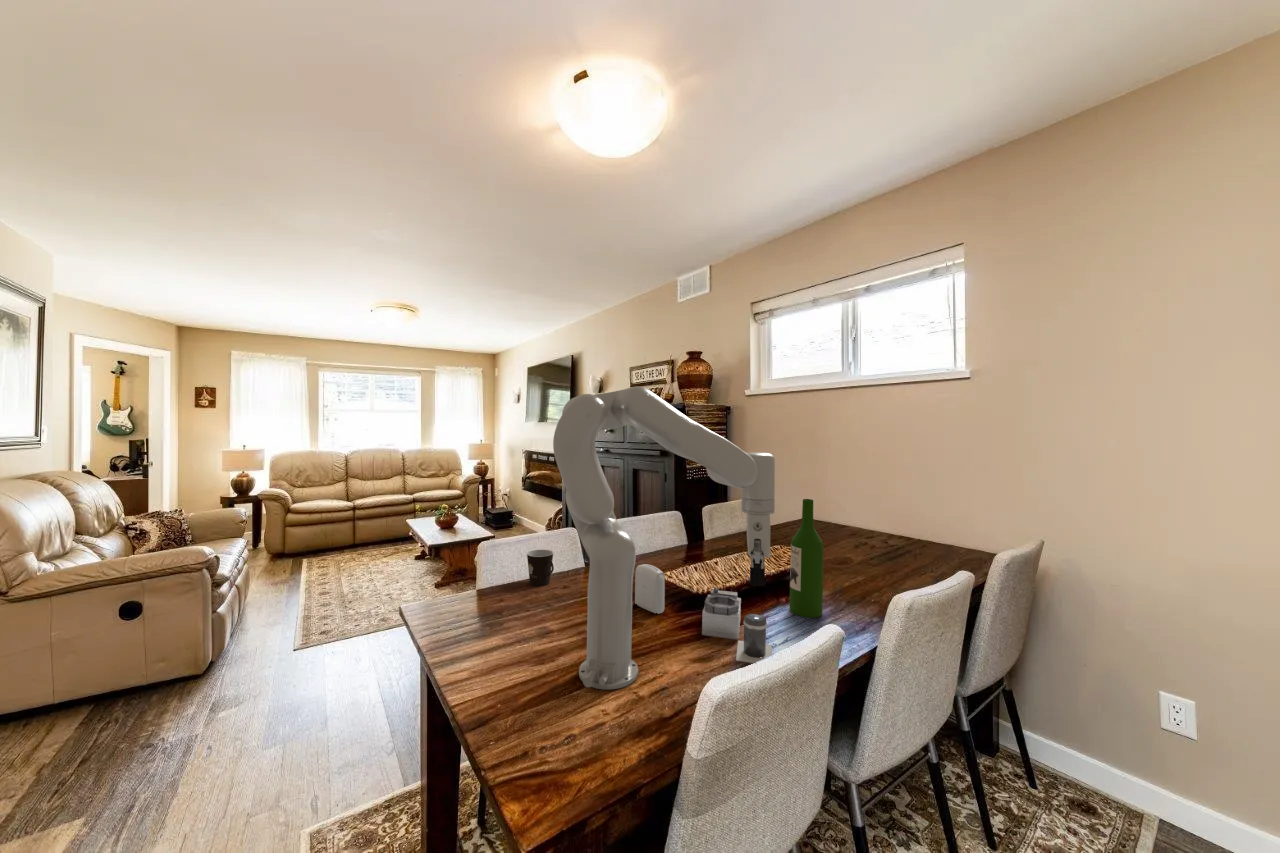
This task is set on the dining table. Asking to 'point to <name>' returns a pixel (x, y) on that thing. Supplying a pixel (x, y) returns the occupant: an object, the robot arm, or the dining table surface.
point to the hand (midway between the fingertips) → (757, 578)
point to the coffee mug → (540, 567)
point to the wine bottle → (806, 567)
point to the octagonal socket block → (721, 614)
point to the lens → (755, 635)
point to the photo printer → (650, 588)
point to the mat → (745, 658)
